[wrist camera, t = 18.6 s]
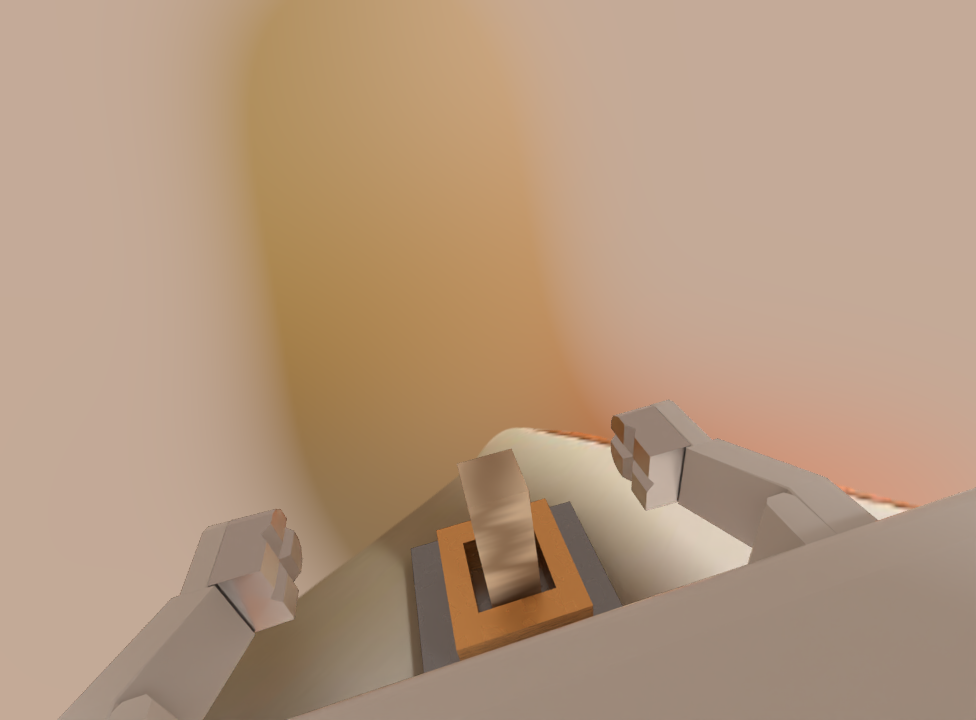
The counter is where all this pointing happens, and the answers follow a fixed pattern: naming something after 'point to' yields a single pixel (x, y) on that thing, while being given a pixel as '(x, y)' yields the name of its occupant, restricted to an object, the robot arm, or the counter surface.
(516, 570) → the wedge pin
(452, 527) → the socket base
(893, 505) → the counter surface
